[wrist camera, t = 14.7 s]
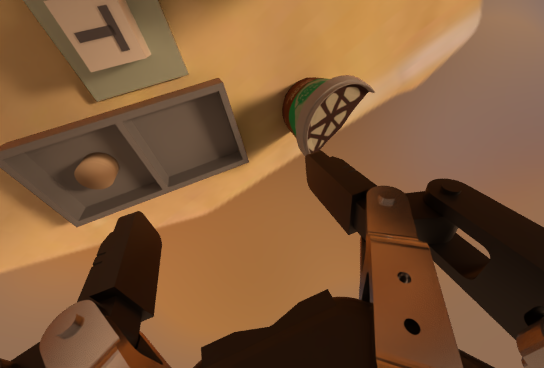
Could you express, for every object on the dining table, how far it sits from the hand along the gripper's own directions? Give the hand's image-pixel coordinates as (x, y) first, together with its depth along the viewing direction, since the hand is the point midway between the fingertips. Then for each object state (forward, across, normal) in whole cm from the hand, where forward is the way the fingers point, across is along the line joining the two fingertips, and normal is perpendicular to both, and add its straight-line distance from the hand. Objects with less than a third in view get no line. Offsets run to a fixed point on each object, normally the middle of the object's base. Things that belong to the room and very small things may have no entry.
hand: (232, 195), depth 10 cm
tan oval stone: (+23, +16, +5) cm, 29 cm away
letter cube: (+22, +6, -8) cm, 25 cm away
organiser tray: (+24, +10, +5) cm, 26 cm away
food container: (+24, -14, +4) cm, 28 cm away
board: (+24, +6, -8) cm, 26 cm away
